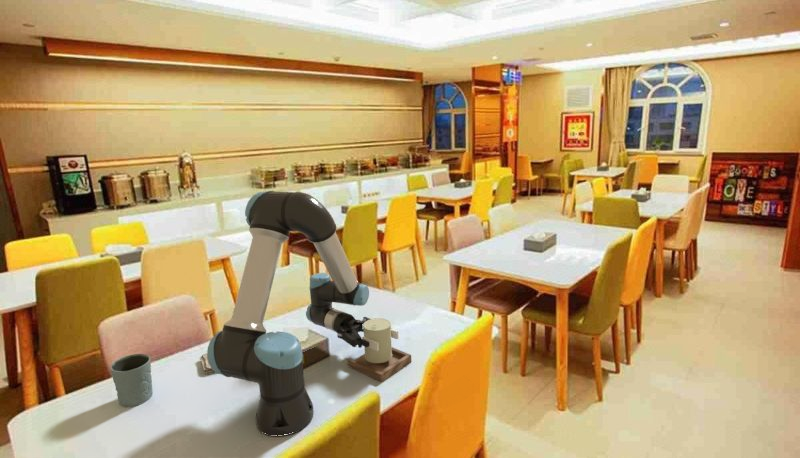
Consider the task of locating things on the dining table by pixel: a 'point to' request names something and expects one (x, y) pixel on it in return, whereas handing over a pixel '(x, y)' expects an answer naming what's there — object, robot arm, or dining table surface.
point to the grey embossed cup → (132, 379)
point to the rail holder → (381, 365)
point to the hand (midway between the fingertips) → (388, 340)
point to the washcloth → (206, 364)
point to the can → (378, 340)
